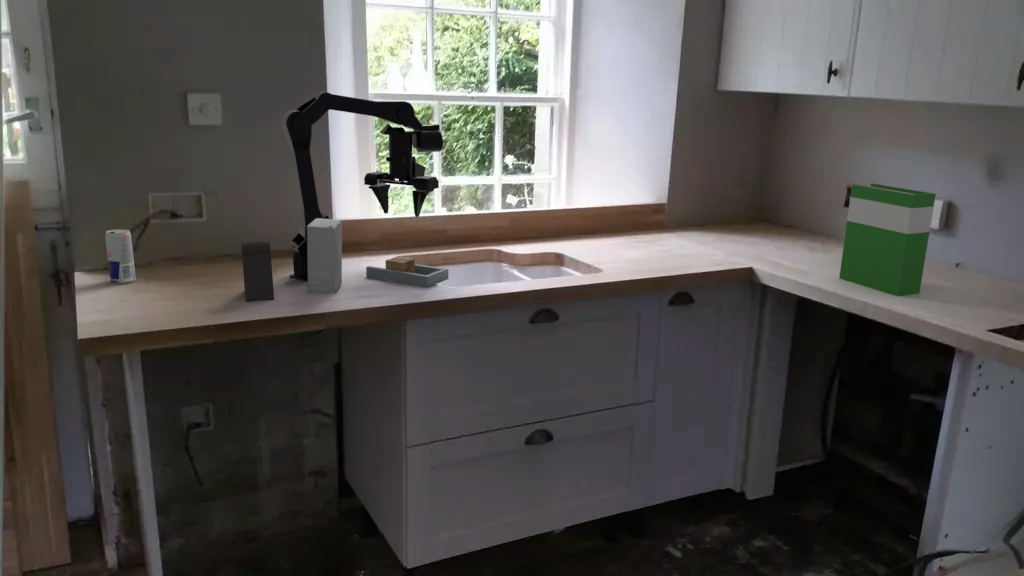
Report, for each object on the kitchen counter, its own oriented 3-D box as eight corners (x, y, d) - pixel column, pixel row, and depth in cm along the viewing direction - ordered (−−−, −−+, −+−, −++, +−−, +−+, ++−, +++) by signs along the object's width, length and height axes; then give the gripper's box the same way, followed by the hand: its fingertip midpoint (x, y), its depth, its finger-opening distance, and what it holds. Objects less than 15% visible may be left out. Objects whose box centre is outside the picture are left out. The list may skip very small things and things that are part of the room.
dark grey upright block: (244, 291, 180) (240, 239, 177) (272, 289, 182) (268, 238, 179) (245, 302, 172) (241, 248, 169) (274, 300, 174) (270, 246, 171)
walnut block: (403, 281, 192) (402, 262, 190) (386, 278, 194) (385, 260, 193) (414, 276, 196) (414, 258, 195) (398, 273, 198) (398, 256, 197)
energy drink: (111, 279, 187) (106, 229, 184) (136, 277, 189) (131, 228, 186) (109, 285, 182) (103, 234, 179) (135, 283, 184) (129, 232, 181)
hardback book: (839, 278, 202) (851, 184, 196) (860, 275, 205) (873, 183, 199) (897, 296, 187) (913, 195, 181) (919, 293, 190) (935, 193, 184)
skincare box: (315, 283, 187) (312, 217, 183) (345, 284, 187) (343, 218, 183) (306, 293, 179) (302, 224, 175) (337, 294, 179) (335, 225, 175)
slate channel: (427, 287, 186) (427, 276, 185) (366, 276, 194) (366, 266, 193) (448, 278, 194) (448, 269, 193) (388, 269, 202) (388, 259, 201)
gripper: (449, 152, 199) (449, 213, 203) (387, 147, 207) (388, 207, 211) (426, 156, 189) (426, 220, 193) (362, 151, 197) (363, 213, 201)
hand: (401, 215), depth 200 cm, fingers open, 9 cm apart
